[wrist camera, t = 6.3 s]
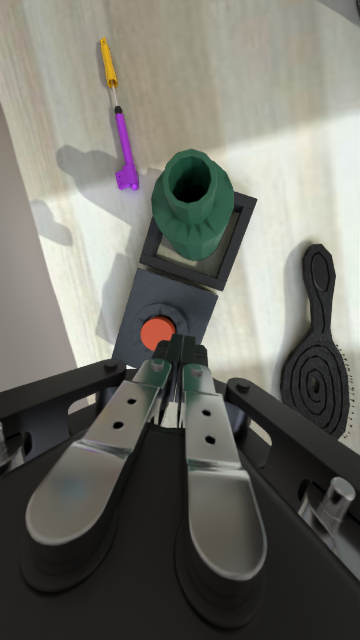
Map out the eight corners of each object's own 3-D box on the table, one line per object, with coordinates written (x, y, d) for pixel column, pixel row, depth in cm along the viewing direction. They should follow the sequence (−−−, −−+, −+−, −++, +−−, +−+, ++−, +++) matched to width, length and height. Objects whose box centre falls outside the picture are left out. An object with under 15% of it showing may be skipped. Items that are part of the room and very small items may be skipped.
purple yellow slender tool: (141, 189, 27) (110, 41, 25) (136, 185, 26) (103, 30, 24) (123, 196, 28) (92, 55, 26) (118, 193, 27) (84, 45, 24)
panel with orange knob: (145, 269, 29) (132, 266, 24) (216, 294, 29) (220, 296, 23) (121, 350, 31) (104, 364, 26) (186, 374, 31) (183, 393, 25)
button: (149, 311, 25) (145, 314, 23) (179, 322, 24) (178, 325, 23) (140, 340, 25) (136, 344, 24) (169, 351, 25) (167, 356, 23)
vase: (181, 205, 27) (156, 106, 12) (226, 220, 27) (259, 138, 12) (166, 252, 28) (126, 216, 13) (210, 267, 28) (220, 248, 13)
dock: (169, 179, 27) (166, 168, 24) (252, 206, 26) (257, 198, 24) (144, 264, 29) (138, 262, 26) (220, 290, 28) (222, 291, 26)
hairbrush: (367, 235, 23) (364, 451, 26) (345, 243, 27) (344, 431, 30) (286, 243, 24) (291, 450, 27) (275, 250, 28) (281, 432, 31)
